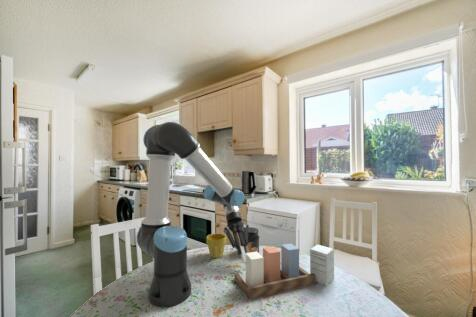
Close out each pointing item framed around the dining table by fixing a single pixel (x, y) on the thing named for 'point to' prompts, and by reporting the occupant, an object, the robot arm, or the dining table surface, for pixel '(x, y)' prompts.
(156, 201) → the robot arm
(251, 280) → the ivory key
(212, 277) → the dining table surface
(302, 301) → the dining table surface
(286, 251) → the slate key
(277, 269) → the pink rectangular block
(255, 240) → the supplement container
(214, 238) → the plant pot
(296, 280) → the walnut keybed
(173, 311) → the dining table surface
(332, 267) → the supplement box
